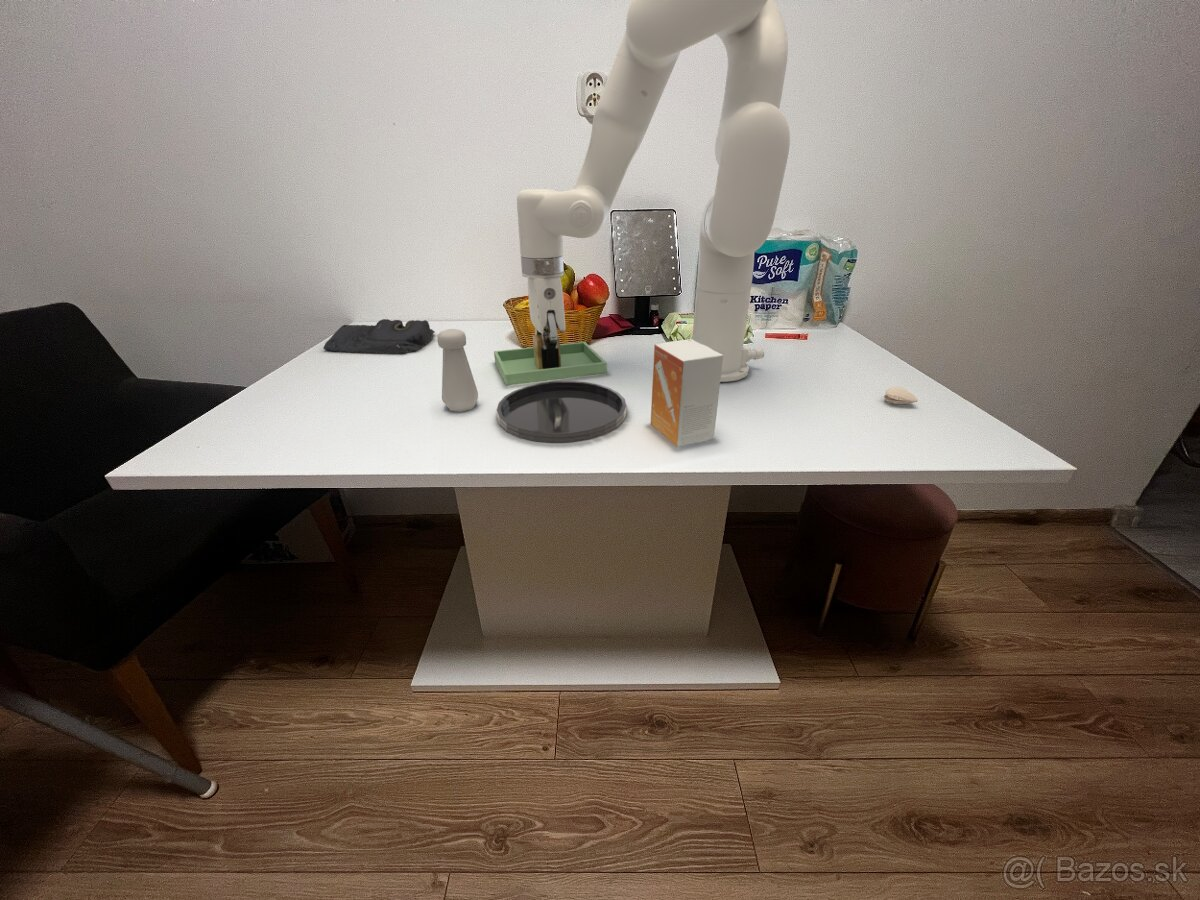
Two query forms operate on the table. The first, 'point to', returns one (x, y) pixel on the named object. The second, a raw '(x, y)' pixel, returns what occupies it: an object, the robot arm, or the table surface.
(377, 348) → the dark crumpled cloth
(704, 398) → the small box
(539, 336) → the block
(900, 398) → the beige pistachio shell
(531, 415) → the pan
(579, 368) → the tray
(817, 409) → the table surface
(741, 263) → the robot arm
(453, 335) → the salt shaker
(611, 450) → the table surface
